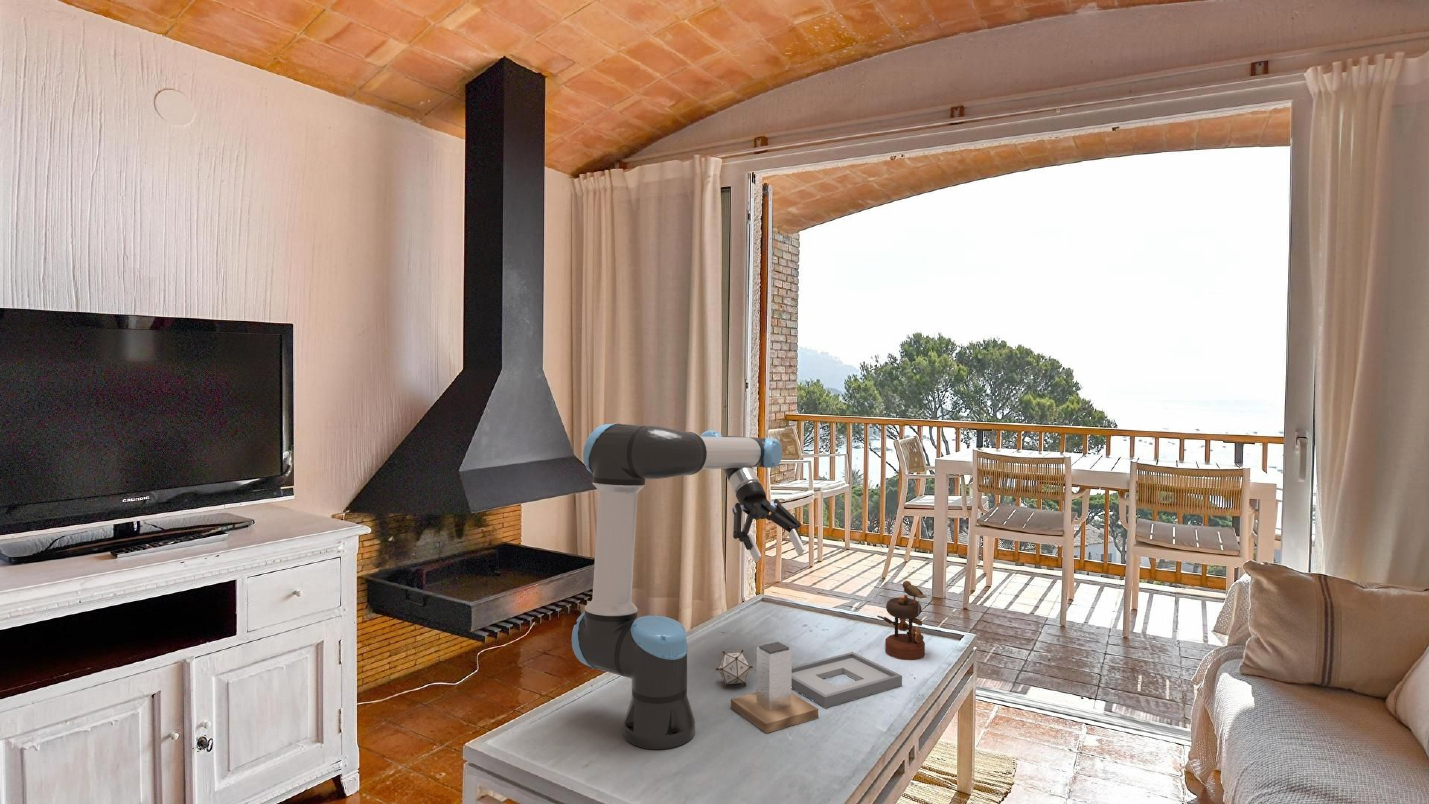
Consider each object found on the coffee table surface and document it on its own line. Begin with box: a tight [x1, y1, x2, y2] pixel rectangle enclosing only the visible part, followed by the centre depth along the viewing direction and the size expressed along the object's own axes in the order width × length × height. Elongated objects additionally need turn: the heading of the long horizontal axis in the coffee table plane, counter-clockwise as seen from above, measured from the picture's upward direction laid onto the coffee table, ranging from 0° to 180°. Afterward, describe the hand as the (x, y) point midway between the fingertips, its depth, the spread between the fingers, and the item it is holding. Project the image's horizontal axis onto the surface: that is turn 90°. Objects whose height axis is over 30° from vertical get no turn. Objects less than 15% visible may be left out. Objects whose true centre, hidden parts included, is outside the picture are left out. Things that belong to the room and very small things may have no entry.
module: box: [755, 641, 793, 711], centre depth 168 cm, size 6×5×13 cm
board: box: [730, 692, 819, 734], centre depth 169 cm, size 14×14×2 cm
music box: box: [876, 580, 928, 661], centre depth 205 cm, size 15×11×20 cm
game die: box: [715, 649, 754, 688], centre depth 184 cm, size 9×8×10 cm
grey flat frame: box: [791, 651, 903, 709], centre depth 185 cm, size 24×18×2 cm
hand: (780, 556), depth 191 cm, fingers open, 13 cm apart
